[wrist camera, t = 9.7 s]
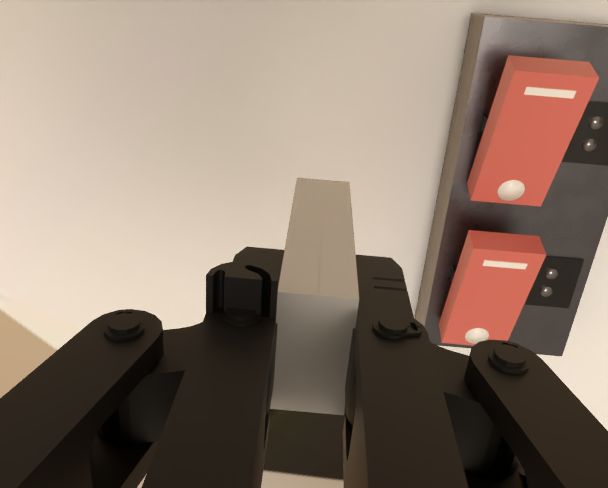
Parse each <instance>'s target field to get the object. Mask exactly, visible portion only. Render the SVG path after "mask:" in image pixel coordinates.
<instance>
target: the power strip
mask: <svg viewBox="0 0 608 488" xmlns="http://www.w3.org/2000/svg"><path fill="white" fill-rule="evenodd" d="M508 55H512V56H524V57H536V58H548V59H560V60H572V61H584V62H590V64H591V65H592V67H593V68H594V70H595V72H596V73H597V75H598V76H599V80H598V82H597V84H596V86H595V88H594V91H593V93H592V95H591V97H590V99H589V102H588V104H587V106H586V108H585V110H584V113H583V115H582V117H581V119H580V121H579V124H578V126H577V128H576V130H575V132H574V135H573V137H572V139H571V141H570V143H569V146H568V148H567V150H566V152H565V154H564V157H563V159H562V161H561V163H560V165H559V168H558V170H557V172H556V174H555V176H554V179H553V181H552V183H551V185H550V187H549V190H548V192H547V194H546V196H545V198H544V201H543V203H542V205H541V206H529V205H518V204H506V203H494V202H483V201H471V199H470V195H469V190H468V186H467V181H468V178H469V175H470V172H471V169H472V166H473V163H474V160H475V157H476V154H477V151H478V147H479V144H480V141H481V138H482V135H483V132H484V129H485V126H486V123H487V120H488V117H489V113H490V110H491V107H492V104H493V101H494V98H495V95H496V92H497V89H498V86H499V83H500V79H501V76H502V73H503V70H504V67H505V64H506V61H507V58H508ZM607 217H608V24H596V23H584V22H572V21H560V20H548V19H536V18H524V17H512V16H500V15H488V14H476V13H472V14H471V19H470V24H469V30H468V35H467V41H466V46H465V51H464V57H463V62H462V67H461V73H460V78H459V84H458V89H457V94H456V100H455V105H454V110H453V116H452V121H451V127H450V132H449V137H448V143H447V148H446V153H445V159H444V164H443V170H442V175H441V180H440V186H439V191H438V196H437V202H436V207H435V213H434V218H433V223H432V229H431V234H430V239H429V245H428V250H427V255H426V261H425V266H424V272H423V277H422V282H421V288H420V293H419V298H418V304H417V309H416V315H415V319H416V320H417V321H418V322H420V323H421V324H422V325H423V326H424V327H425V329H426V331H427V332H428V336H429V340H430V342H431V343H433V344H435V345H440V346H452V347H463V348H472V345H460V344H449V343H442V342H441V335H440V329H439V322H440V319H441V315H442V312H443V309H444V306H445V303H446V300H447V297H448V294H449V290H450V287H451V284H452V281H453V278H454V275H455V272H456V269H457V265H458V262H459V259H460V256H461V253H462V250H463V247H464V244H465V240H466V237H467V234H468V231H469V230H474V231H486V232H497V233H509V234H520V235H532V236H539V237H540V240H541V242H542V245H543V247H544V250H545V252H546V257H545V259H544V261H543V263H542V266H541V268H540V270H539V272H538V275H537V277H536V279H535V281H534V283H533V286H532V288H531V290H530V292H529V295H528V297H527V299H526V301H525V303H524V306H523V308H522V310H521V312H520V315H519V317H518V319H517V321H516V323H515V326H514V328H513V330H512V332H511V335H510V337H509V339H508V341H510V342H513V343H516V344H519V345H521V346H523V347H525V348H527V349H529V350H531V351H532V352H534V353H535V354H542V355H553V356H562V354H563V351H564V348H565V345H566V342H567V339H568V336H569V333H570V330H571V327H572V324H573V321H574V318H575V315H576V312H577V308H578V305H579V302H580V299H581V296H582V293H583V290H584V287H585V284H586V281H587V278H588V275H589V272H590V269H591V266H592V263H593V259H594V256H595V253H596V250H597V247H598V244H599V241H600V238H601V235H602V232H603V229H604V226H605V223H606V220H607Z"/></svg>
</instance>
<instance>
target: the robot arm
mask: <svg viewBox="0 0 608 488" xmlns="http://www.w3.org/2000/svg"><path fill="white" fill-rule="evenodd" d="M404 281H405V279H404V275H403V271H402V268H401V267H400V266H399V265H398V264H397V263H396V262H395V261H394V260H393V259H392V258H387V257H376V256H364V255H355V243H354V232H353V220H352V208H351V196H350V184H349V182H341V181H330V180H318V179H307V178H297V182H296V188H295V193H294V199H293V205H292V211H291V216H290V222H289V228H288V234H287V239H286V245H285V250H278V249H267V248H255V247H246V248H244V249H243V250H242V251H240V252H239V253H238V254H236V255H235V257H234V260H233V262H230V263H225V264H221V265H219V266H216V267H214V268H212V269H211V270H210V271H209V272H208V273H207V275H206V315H205V318H204V321H203V322H202V323H200V324H197V325H194V326H191V327H185V328H180V329H170V330H163V328H162V322H161V321H160V320H159V319H158V318H157V317H156V316H155V315H153V314H151V313H148V312H146V311H140V310H132V309H125V310H117V311H114V312H111V313H107V314H104V315H102V316H100V317H98V318H97V319H95V320H93V321H92V322H91V323H89V324H88V325H87V326H86V327H85V328H83V329H82V330H81V331H80V332H79V333H78V334H76V335H75V336H74V337H73V338H72V339H70V340H69V341H68V342H67V343H66V344H64V345H63V346H62V347H61V348H60V349H59V350H57V351H56V352H55V353H54V354H53V355H52V356H50V357H49V358H48V359H47V360H45V361H44V362H43V363H42V364H41V365H40V366H38V367H37V368H36V369H35V370H34V371H33V372H31V373H30V374H29V375H28V376H27V377H26V378H24V379H23V380H22V381H21V382H20V383H18V384H17V385H16V386H15V387H14V388H12V389H11V390H10V391H9V392H8V393H6V394H5V395H4V396H3V397H2V398H0V488H137V486H138V485H139V484H140V482H141V481H142V479H143V478H144V477H145V475H146V474H147V475H146V477H145V480H144V483H143V485H142V488H261V482H262V475H263V468H264V460H265V453H266V446H267V438H268V431H269V420H270V409H281V410H292V411H303V412H314V413H326V414H337V415H344V408H345V406H346V413H345V421H344V428H343V435H342V443H341V450H340V457H339V463H343V470H344V488H608V431H607V430H606V429H605V428H604V427H603V425H602V424H601V423H600V422H599V421H598V420H597V419H596V418H595V417H594V416H593V415H592V413H591V412H590V411H589V410H588V409H587V408H586V407H585V406H584V405H583V404H582V403H581V401H580V400H579V399H578V398H577V397H576V396H575V395H574V394H573V393H572V392H571V391H570V389H569V388H568V387H567V386H566V385H565V384H564V383H563V382H562V381H561V380H560V379H559V377H558V376H557V375H556V374H555V373H554V372H553V371H552V370H551V369H550V368H549V367H548V365H547V364H546V363H545V362H544V361H543V360H542V359H541V358H540V357H538V356H537V355H536V354H535V353H534V352H532V351H531V350H529V349H527V348H525V347H523V346H521V345H519V344H516V343H513V342H510V341H505V340H485V341H480V342H478V343H477V344H475V345H474V346H472V348H471V352H470V356H467V355H464V354H460V353H457V352H453V351H450V350H447V349H444V348H442V347H439V346H437V345H435V344H433V343H431V342H430V340H429V336H428V332H427V331H426V329H425V327H424V326H423V325H422V324H421V323H420V322H418V321H417V320H416V319H414V317H413V313H412V308H411V304H410V300H409V296H408V292H407V288H406V283H405V282H404Z"/></svg>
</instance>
